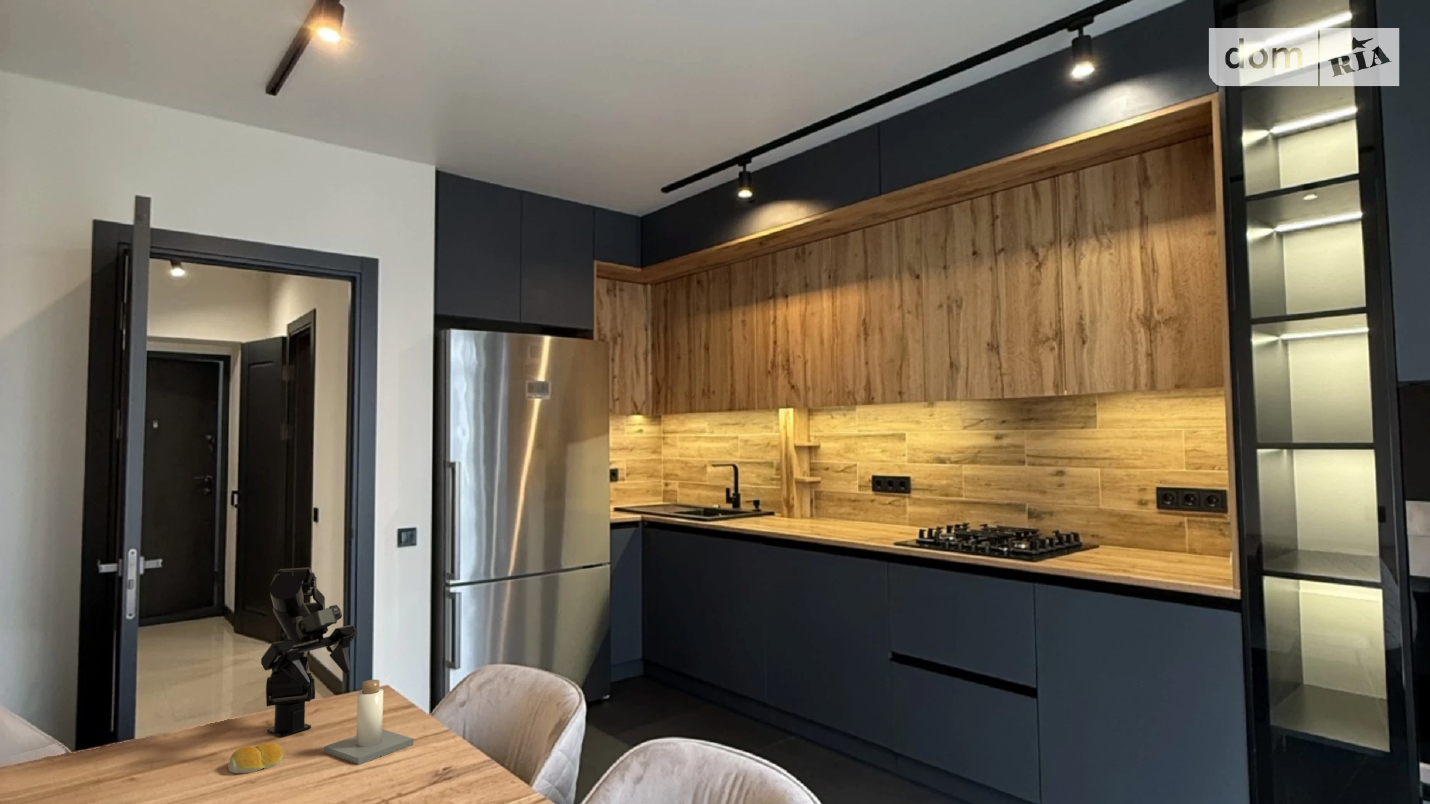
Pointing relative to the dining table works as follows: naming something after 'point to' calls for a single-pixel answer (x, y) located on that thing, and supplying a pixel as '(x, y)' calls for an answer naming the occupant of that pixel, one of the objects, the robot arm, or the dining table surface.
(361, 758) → the plate
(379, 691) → the lotion bottle
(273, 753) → the bread roll
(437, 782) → the dining table surface
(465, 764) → the dining table surface
